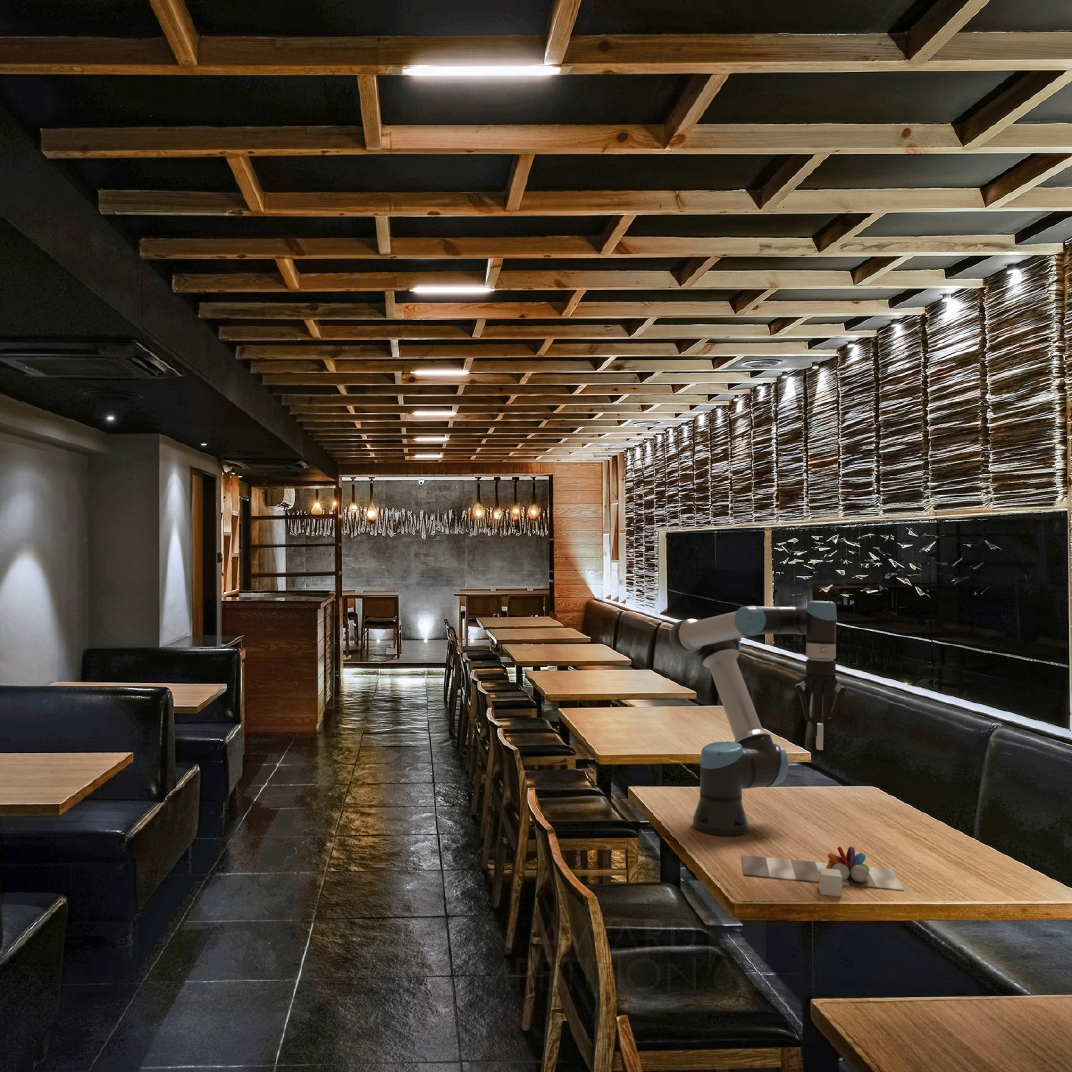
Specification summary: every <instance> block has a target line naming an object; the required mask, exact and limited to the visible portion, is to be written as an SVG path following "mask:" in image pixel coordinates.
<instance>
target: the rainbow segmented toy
mask: <svg viewBox="0 0 1072 1072" xmlns="http://www.w3.org/2000/svg"><path fill="white" fill-rule="evenodd" d="M855 849H856V848H855V847H853V846H849V847H848V848H847V851H846V854H845V853H844V849H843V848H842V846H838V847H837V850H838V854H839V855H836V854H834V853H832V852H829V853H828V854H827V858H828V862H827V863H828V865H827V866H826V868H827V869H836V870H840V872H841V875H842V881H843V880H846V879H847V878H848V877H849V874H851V877H852V878H853V880H855V881H857V882H864V881H865V880H866V879H867V878H868V872H869V867H870V866H868V865H867V864H865V863H864V862H865V861H866V855H865V853H863V852H860V853H857V854H856V850H855ZM849 872H850V873H849Z"/></svg>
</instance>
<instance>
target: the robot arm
mask: <svg viewBox="0 0 1072 1072" xmlns="http://www.w3.org/2000/svg"><path fill="white" fill-rule="evenodd" d="M836 605H837V604H836V603H835V602H834V601H829V600H827V601H824V600H808V601H807V603H806V607H805V606H804V607H803V606H795V605H781V606H780V605H779V606H777V605H776V606H763V605H762V606H760V605H759V606H757V605H747V606H741V607H740V608H738V610H736V611H732V612H728V613H724V614H719V615H716V616H715V615H714V616H712V617H706V618H702V619H701V618H700V619H699V618H698V619H694V618H689V619H688V618H687V619H682V620H679V621H677V622H675V624H674V625H673V626H672V627H671V629H670V632H669V642H670V645H671V647H672V649H674V651H675V652H677V653H678V654H679V655H682V656H685V657H695V658H696V657H699V658H700V660H701V663H702V665H703V667H705V668H707V669H709V670H710V673H711V676H712V678H713V682H714V685H715V687H716V690H717V692H718V697H719V699H720V702H721V705H722V707H723V709H724V713H725V714H726V719H727V721H728V723H729V726H730V729H731V733H732V735H733V738H734V741H716V742H715V741H714V742H711V743H708V744H706V745H705V746H703V748H702V749H701V753H700V759H699V765H700V770H699V771H700V772H699V773H700V775H699V776H700V777H699V778H700V779H699V781H700V782H699V783H700V784H699V800H698V802H697V806H696V808H695V812H694V815H693V818H692V826H693V828H694V829H695V830H697V831H700V832H702V833H704V834H709V835H713V836H714V835H715V836H724V837H732V836H734V837H735V836H740V835H744V834H746V833H747V832H748V831H749V829H748V828H749V824H748V822H749V821H748V818H747V816H746V811H745V809H744V805H743V790H747V789H757V788H770V787H773V786H777V785H780V784H781V783H783V781H784V780H785V779H786V777H787V775H788V771H789V757H788V754H787V752H786V749H785V748H784V747H783V746H781V745H780V744H778V743H774V741H773V739H772V737H771V734H770V733H767V732H766V731H764V730H763V727H762V725H761V722H760V719H759V717H758V714H757V712H756V711H757V710H756V709H755V706H754V703H753V701H752V698H751V695H750V694H749V690H748V687H747V685H746V682H745V680H744V677H743V675H742V672H741V669H740V667H739V664H738V660H737V659H738V658H739V656H740V654H739V653H740V652H739V651H740V650H741V646H742V643H741V641H742V638H747V637H753V636H758V635H791V634H792V635H802V636H803V635H804V636H806V637H805V638H806V640H805V642H806V644H805V657H806V658H807V659H806V660H805V676H804V677H803V681H801V682H800V683H796V684H795V685H794V686H795V688H796V690H797V692H798V694H799V698H800V703H801V706H802V710H803V717H804V719H805V721H806V722H809V723H811V734H812V736H813V737H815V748H816V750H818V751H823V750H824V738H827V737H828V734H829V733H828V732H829V731H828V729H829V725H830V724H835V723H836V719H837V716H838V712H839V709H840V705H841V700H842V697H843V695H845V693H846V692H847V688H846V687H845V686H844V685H841V684H840V683H839V682H838V679H837V677H836V675H837V674H836V671H837V670H836V669H837V668H836V666H837V665H836V664H837V663H836V661H835V659H837V652H836V651H837V620H838V616H837V606H836ZM806 687H807V688H808V690H809V692H811V696H812V697H811V701H812V702H811V715H810V711H809V705H808V702H807V701H808V700H807V697H806V693H805V691H806ZM834 689H835V696H834V700H833V702H832V703H833V704H832V707H831V710H830V714H829V698H830V697H829V696H830V694H831V693H832V691H833V690H834ZM820 695H821V697H822V700H821V703H822V704H821V709H822V710H821V723H820V722H819V719H818V718H819V696H820Z"/></svg>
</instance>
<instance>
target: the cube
mask: <svg viewBox="0 0 1072 1072" xmlns="http://www.w3.org/2000/svg"><path fill="white" fill-rule="evenodd" d="M818 889H819V893H820V895H824V896H825V895H826V896H833V897H843V885H842V875H841V872H840V870H836V869H825V868H819V883H818Z"/></svg>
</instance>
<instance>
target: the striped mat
mask: <svg viewBox="0 0 1072 1072" xmlns="http://www.w3.org/2000/svg"><path fill="white" fill-rule="evenodd" d="M741 861H742V862H741V863H742V871H743V876H744V877H745V876H746V877H754V878H766V879H767V878H768V879H775V880H776V879H777V880H786V881H798V882H808V883H809V882H810V883H816V884H817V883H818V884H819V868H825V869H827V868H826V866H827V865H828V862H820V861H812V860H811V861H809V860H799V859H788V858H778V857H768V856H767V857H765V856H764V857H763V856H756V855H755V856H754V855H753V856H752V855H746V854H745V855H743V854H741ZM868 867H869V872H868V878H867V879H866V880H865V881H864V882H857V881H855V880H853V878H852V877H851V874H849V877H848V878H847V879H846V880H843V881H842V886H851V887H860V888H862V887H863V888H871V889H881V890H882V889H883V890H891V891H901V892H904V891H905V888H904V887H903V885H902V883H901V882H900V880H899V879H898V877H897V876H896V874H895V872H894V871H893V869H892V868H887V867H886V868H885V867H875V866H868ZM849 873H850V872H849Z"/></svg>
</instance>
